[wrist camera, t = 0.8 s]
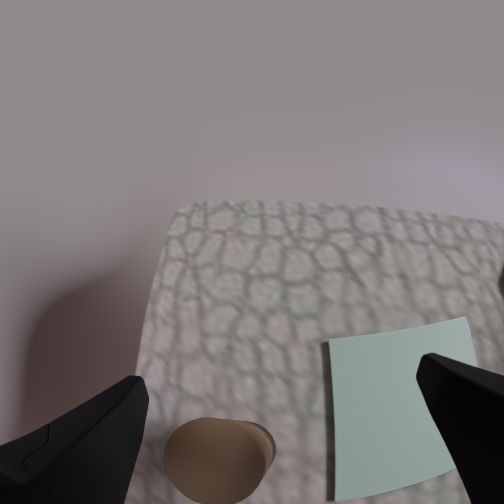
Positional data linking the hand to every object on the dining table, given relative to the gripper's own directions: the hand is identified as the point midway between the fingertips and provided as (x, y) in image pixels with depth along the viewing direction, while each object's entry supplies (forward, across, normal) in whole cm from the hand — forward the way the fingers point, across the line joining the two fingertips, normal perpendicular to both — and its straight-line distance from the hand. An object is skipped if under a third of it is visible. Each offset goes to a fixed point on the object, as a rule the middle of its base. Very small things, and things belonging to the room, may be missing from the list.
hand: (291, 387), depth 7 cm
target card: (+7, -12, +11) cm, 18 cm away
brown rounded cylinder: (+7, +2, +13) cm, 15 cm away
